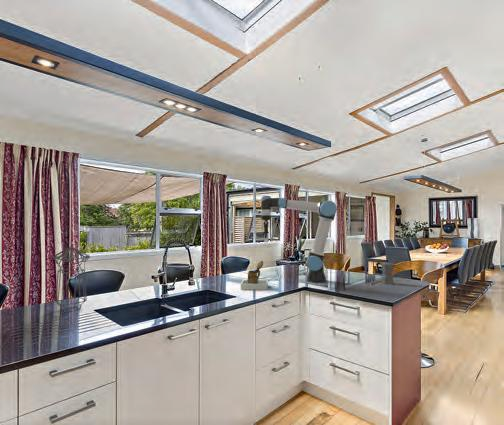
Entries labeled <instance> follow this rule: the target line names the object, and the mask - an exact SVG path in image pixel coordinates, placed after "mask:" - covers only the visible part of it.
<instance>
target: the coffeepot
mask: <svg viewBox="0 0 504 425" xmlns="http://www.w3.org/2000/svg"><path fill="white" fill-rule="evenodd" d="M385 261H386V262H380V261H377V262H376V263H375V266H376V269H377V272H378V273H380V274H381V273H382V276H381V277H382V278H381V281H380V282H381V283H380V284H382V283H383V285H388V284H391V285H394V279H393V273H394V272H393V270H394V269H395V267H396V266H397V265H396V264H395V263H392V262H390V261H389V259H386V260H385ZM379 265H380V266H381V271H380V266H379Z"/></svg>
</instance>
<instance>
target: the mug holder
mask: <svg viewBox="0 0 504 425" xmlns="http://www.w3.org/2000/svg"><path fill="white" fill-rule="evenodd" d="M247 280H248V279H242V281H241V282H240V290H244V291H245V290H254V291H255V290H257V291H259V290H263V291H265V290H266V291H267V290H268V287H269V281H268V279H267V280H266V279H265V280H264V279H261V280H260V279H258V284H247Z"/></svg>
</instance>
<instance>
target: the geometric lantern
mask: <svg viewBox="0 0 504 425" xmlns="http://www.w3.org/2000/svg"><path fill="white" fill-rule="evenodd" d="M69 253H70V254H69ZM68 254H69V255H68ZM78 256H80V257H78ZM50 258H51V259H52V258H53V260H54V261H55V264H56V265H58V268H59V269H58V270H56V272H57V274H56V288H55V301H54V302H55V303H56V304H57V305H58V306H59V310H60V309H62V310H63V308H66V309H65V311H69V312H72V311H71V310H72V308H74V309H73V311H77V310H76V309H77V308H78V307H79V308H78V310H81V309H82V305H83V304H84V303H85V302H87V286H86V285H87V282H86V262H87V261H88V260H89V259H90V258H91V255H90V254H89V255H88V254H87V253H85V252H83V251H82V250H80V249H78V248H76V247H74V246H69V247H67V248H65V249H64V250H62V251H61V250H60V252H58V253H56V254H55V255H53V256H51V257H50ZM79 260H80V261H79ZM74 261H77V262H75V263H74ZM61 262H62V263H61ZM65 263H70V264H71V265H70V267H68V268H67V269H62V267H63V266H64V264H65ZM82 263H83V264H84V265H83V267H84V269H82V266H81V265H82ZM60 264H61V265H60ZM76 265H78V267H77V266H76ZM72 266H74V267H75V268H72ZM70 270H74V271H73V273H74V294H73V297H70V298H69V297H68V274H71V273H72V271H70ZM65 271H66V272H65ZM68 271H69V272H68ZM80 272H81V278H82V292H83V293H82V295H83V297H81V283H80V282H81V281H80V280H81V279H80ZM61 274H62V276H61ZM77 274H78V275H77ZM77 276H78V296H76V293H77V292H76V291H77ZM61 277H62V284H61ZM64 282H65V291H66V292H65V295H66V296H65V298H63V297H64V296H63V295H64ZM61 285H62V286H61ZM60 286H61V287H60ZM60 288H61V298H60ZM72 299H73V302H71V303H69V302H68V300H72ZM75 299H76V301H75ZM80 299H81V300H82V301H79V300H80ZM63 301H66V302H65V303H63ZM69 305H72V306H73V307H72V306H69ZM68 307H69V308H68ZM70 308H71V310H70ZM75 308H76V309H75Z"/></svg>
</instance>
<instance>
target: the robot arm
mask: <svg viewBox="0 0 504 425" xmlns="http://www.w3.org/2000/svg"><path fill="white" fill-rule="evenodd" d="M260 201H261V202H260V205H261V206H260V208H261V211H260V213H261V215H260V217H261V221H264V222H263V231H264V232H263V233H262V234H263V241H264V242H263V243H269V233H270V232H269V224H270V223H269V221H271V218H272V216H271V214H272V211H271V209H272V208H276V209H277V208H279V209H287V210H295V211H305V212H310V213H317V214H318V218H319V222H318V226H317V230H316V233H315V237H314V241H313V245H312V248H311V249H310V250H309V252H308V256H307V259H306V261H305V263H306V264H305V265H306V267H307V268H308V274H307V277H306V281H307V282H310V283H325V282H327V278H326V277H327V276H326V273H325V270H324V268H325V260H324V259H325V253H324V251H325V247H326V244H327V239H328V236H329V232H330V229H331V225H332V222H333V221H335V217H336V213H337V210H338V206H337V205H336V202H334V201H333V200H324V201H319V202H313V201H303V200H297V199H296V200H295V199H286V198H284V197H276V198H275V197H273V198H272V196H271V195H262V196H261V200H260Z"/></svg>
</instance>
